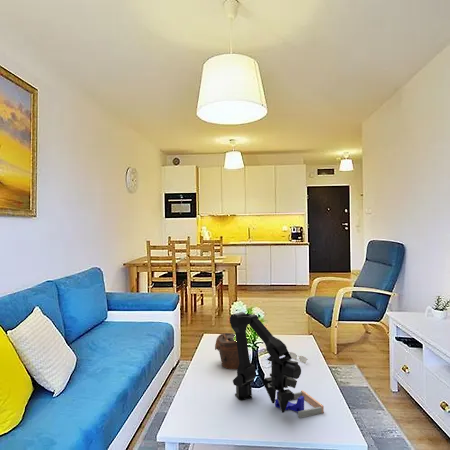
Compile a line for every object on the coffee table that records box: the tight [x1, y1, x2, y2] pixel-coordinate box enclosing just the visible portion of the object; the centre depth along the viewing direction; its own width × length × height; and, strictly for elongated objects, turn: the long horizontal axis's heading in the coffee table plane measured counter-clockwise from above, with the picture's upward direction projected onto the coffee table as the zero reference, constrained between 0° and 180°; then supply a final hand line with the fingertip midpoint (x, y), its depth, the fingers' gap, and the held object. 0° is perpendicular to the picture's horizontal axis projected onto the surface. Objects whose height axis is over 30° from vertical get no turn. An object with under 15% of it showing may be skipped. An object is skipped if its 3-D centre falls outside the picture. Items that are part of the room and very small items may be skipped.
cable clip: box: [274, 390, 305, 413], centre depth 179 cm, size 12×4×6 cm, turn 51°
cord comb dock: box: [291, 389, 325, 419], centre depth 180 cm, size 12×17×3 cm
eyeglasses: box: [267, 351, 308, 365], centre depth 233 cm, size 15×18×4 cm
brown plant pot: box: [214, 332, 239, 370], centre depth 232 cm, size 18×20×18 cm
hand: (278, 407), depth 176 cm, fingers open, 9 cm apart
